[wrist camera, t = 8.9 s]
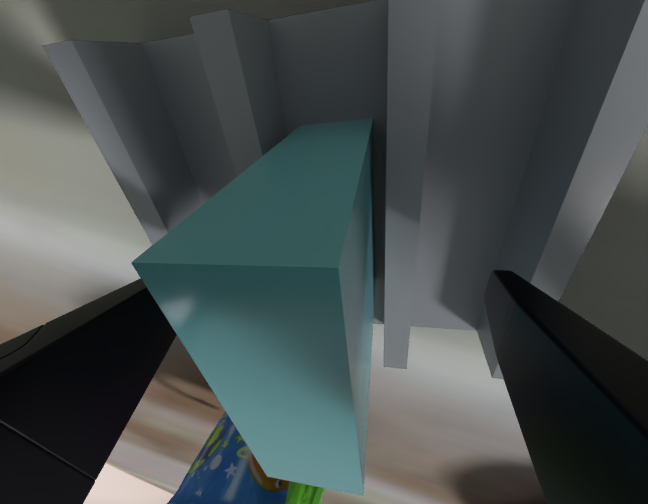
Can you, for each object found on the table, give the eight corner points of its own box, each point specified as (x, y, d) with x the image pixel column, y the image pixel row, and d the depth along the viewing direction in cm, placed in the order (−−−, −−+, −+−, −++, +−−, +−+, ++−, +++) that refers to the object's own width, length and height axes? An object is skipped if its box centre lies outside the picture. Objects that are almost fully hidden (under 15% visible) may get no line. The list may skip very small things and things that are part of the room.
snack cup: (279, 441, 30) (238, 586, 22) (194, 395, 27) (110, 542, 19) (390, 406, 21) (392, 623, 13) (284, 333, 19) (203, 552, 10)
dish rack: (494, 316, 14) (520, 380, 11) (238, 301, 17) (209, 349, 15) (613, -37, 7) (764, -98, 4) (136, 48, 10) (40, 45, 7)
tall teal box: (375, 279, 13) (363, 496, 7) (324, 278, 14) (267, 476, 7) (373, 118, 9) (338, 268, 3) (300, 124, 10) (131, 262, 3)
